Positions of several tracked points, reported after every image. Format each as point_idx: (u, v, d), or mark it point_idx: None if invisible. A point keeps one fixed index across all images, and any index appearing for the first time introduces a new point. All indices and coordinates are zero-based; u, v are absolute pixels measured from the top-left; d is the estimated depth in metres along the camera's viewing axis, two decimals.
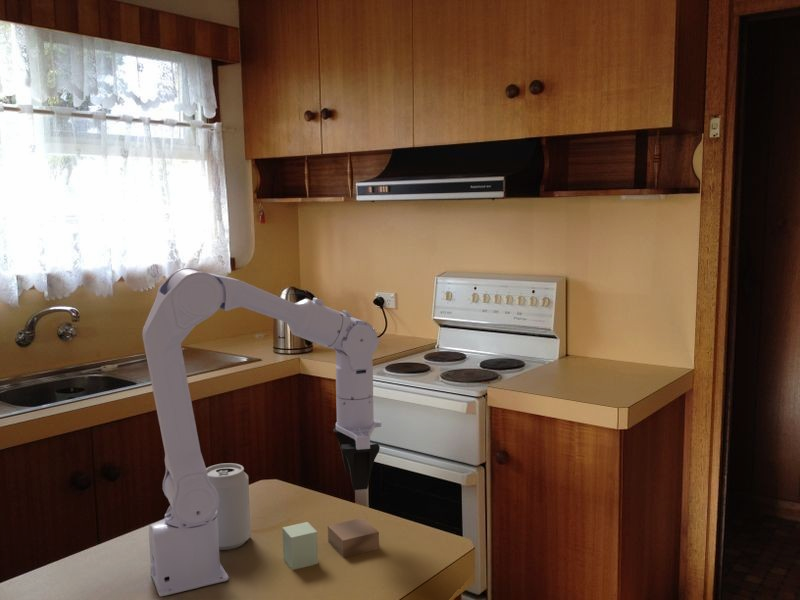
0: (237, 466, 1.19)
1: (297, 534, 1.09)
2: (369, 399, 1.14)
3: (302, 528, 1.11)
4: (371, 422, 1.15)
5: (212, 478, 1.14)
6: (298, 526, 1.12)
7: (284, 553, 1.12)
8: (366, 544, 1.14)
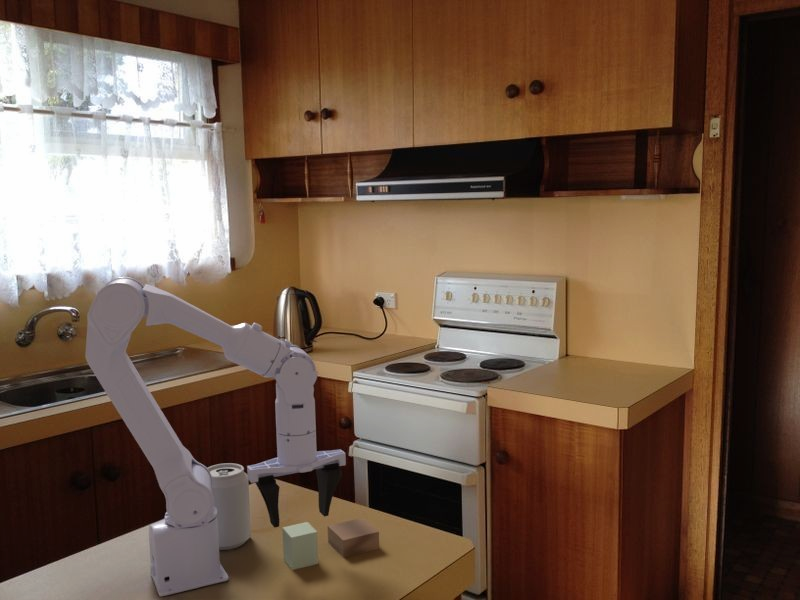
0: (237, 466, 1.19)
1: (297, 534, 1.09)
2: (286, 437, 1.07)
3: (302, 528, 1.11)
4: (291, 463, 1.07)
5: (212, 478, 1.14)
6: (298, 526, 1.12)
7: (284, 553, 1.12)
8: (366, 544, 1.14)
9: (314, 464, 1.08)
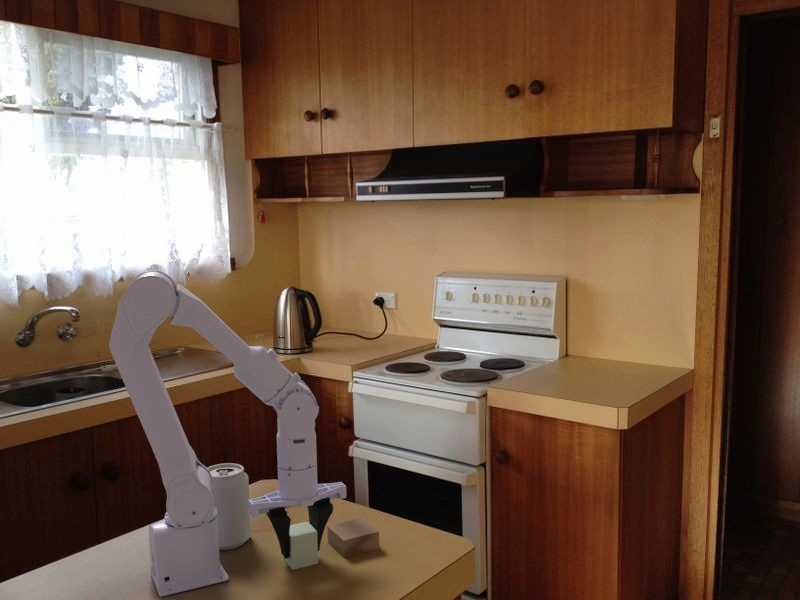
0: (237, 466, 1.19)
1: (297, 533, 1.09)
2: (288, 472, 1.07)
3: (302, 528, 1.11)
4: (292, 497, 1.07)
5: (212, 478, 1.14)
6: (298, 526, 1.12)
7: None
8: (366, 544, 1.14)
9: (315, 498, 1.09)
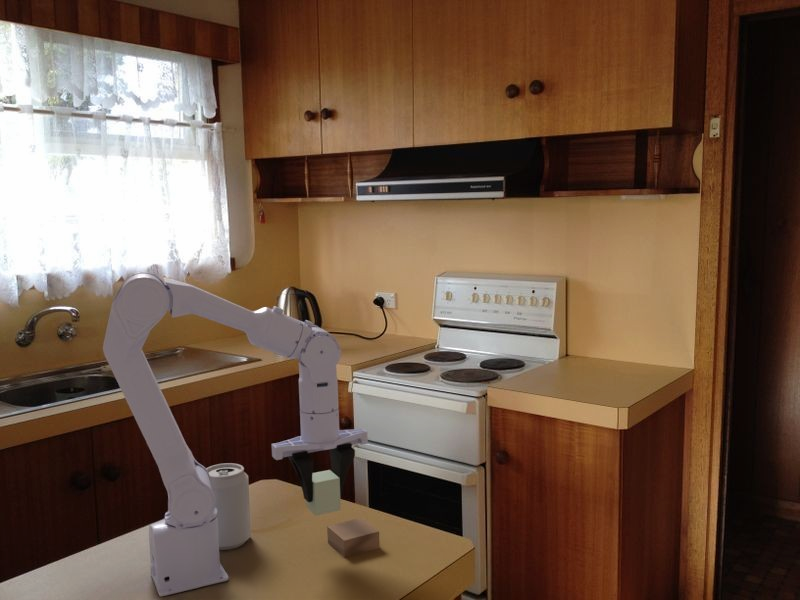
0: (237, 466, 1.19)
1: (320, 480, 1.10)
2: (310, 415, 1.08)
3: (324, 475, 1.12)
4: (314, 440, 1.09)
5: (212, 478, 1.14)
6: (321, 474, 1.13)
7: None
8: (366, 544, 1.14)
9: (337, 442, 1.10)
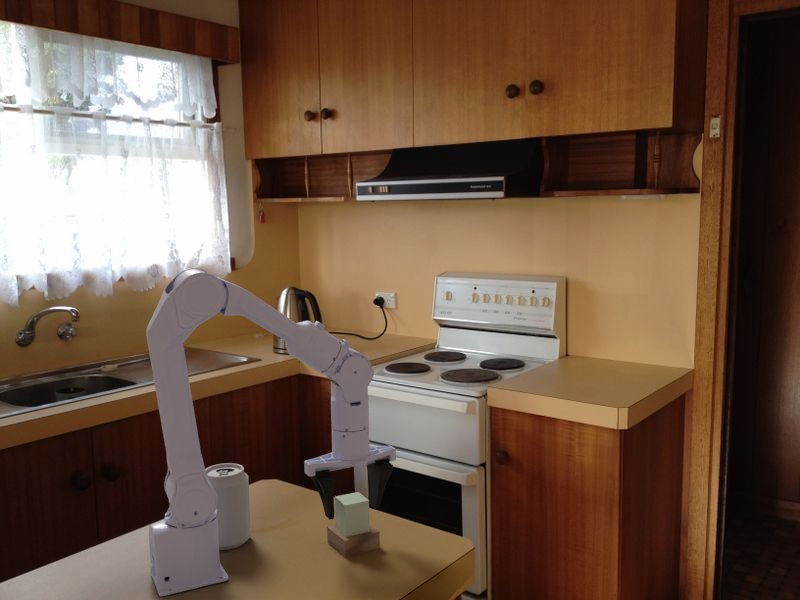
0: (237, 466, 1.19)
1: (350, 502, 1.14)
2: (342, 433, 1.12)
3: (354, 497, 1.16)
4: (346, 458, 1.12)
5: (212, 478, 1.14)
6: (350, 496, 1.16)
7: (337, 521, 1.16)
8: (367, 544, 1.14)
9: (368, 459, 1.13)
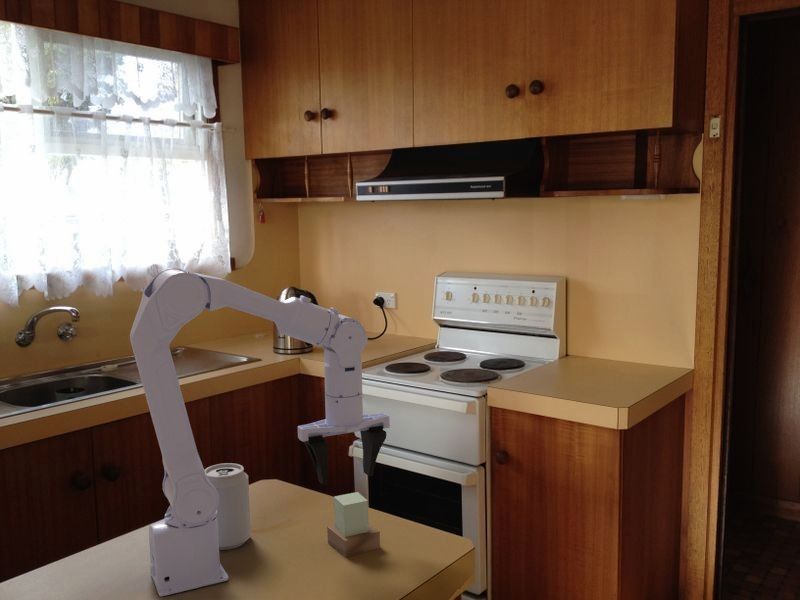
0: (237, 466, 1.19)
1: (349, 502, 1.14)
2: (335, 399, 1.12)
3: (353, 497, 1.16)
4: (339, 423, 1.12)
5: (212, 478, 1.14)
6: (349, 496, 1.16)
7: (336, 521, 1.16)
8: (367, 544, 1.14)
9: (361, 425, 1.14)
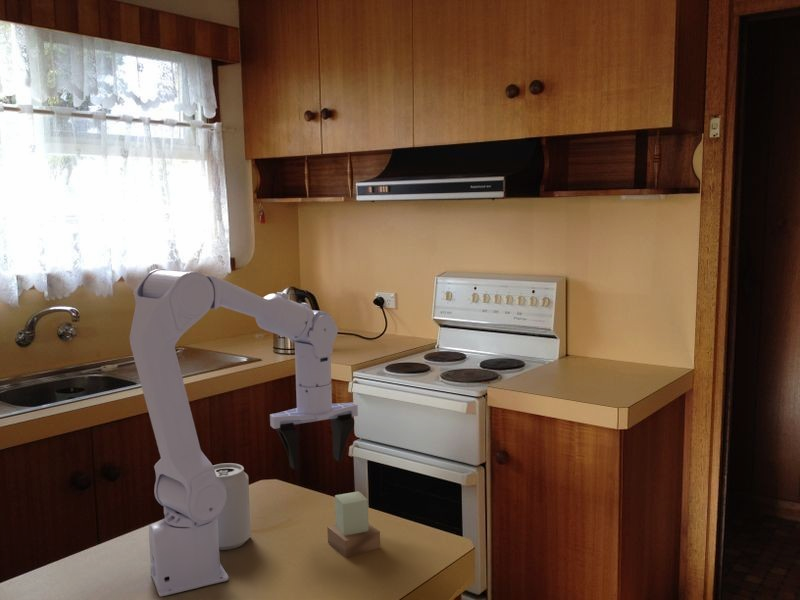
0: (237, 466, 1.19)
1: (348, 501, 1.14)
2: (305, 388, 1.19)
3: (353, 496, 1.16)
4: (309, 411, 1.19)
5: None
6: (350, 495, 1.17)
7: (336, 520, 1.17)
8: (367, 544, 1.14)
9: (330, 413, 1.21)
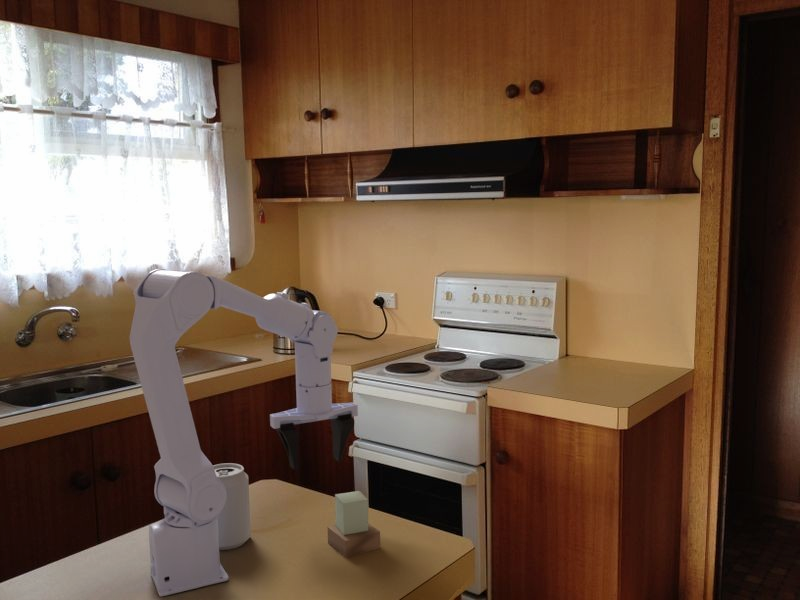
0: (237, 466, 1.19)
1: (349, 500, 1.14)
2: (305, 388, 1.19)
3: (354, 496, 1.16)
4: (309, 411, 1.19)
5: None
6: (350, 494, 1.17)
7: (336, 519, 1.17)
8: (368, 544, 1.14)
9: (330, 413, 1.21)
